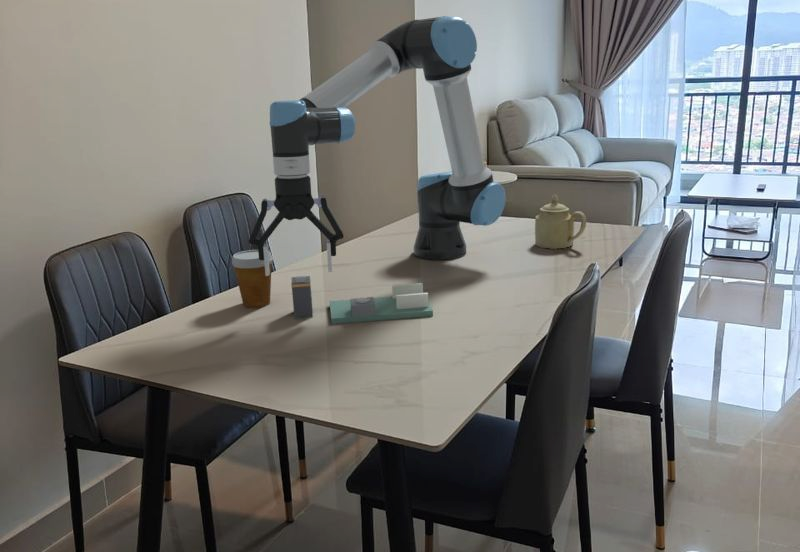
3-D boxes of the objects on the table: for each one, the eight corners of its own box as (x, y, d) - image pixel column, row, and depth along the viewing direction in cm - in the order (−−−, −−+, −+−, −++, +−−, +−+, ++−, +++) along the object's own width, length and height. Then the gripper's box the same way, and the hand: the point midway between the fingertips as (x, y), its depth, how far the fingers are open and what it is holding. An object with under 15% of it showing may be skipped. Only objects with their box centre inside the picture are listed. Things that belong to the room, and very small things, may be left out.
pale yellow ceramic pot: (588, 241, 212) (590, 191, 208) (584, 251, 202) (586, 198, 198) (538, 239, 217) (539, 190, 213) (531, 248, 207) (532, 197, 203)
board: (329, 306, 164) (328, 288, 163) (424, 298, 167) (423, 281, 165) (331, 323, 153) (330, 305, 152) (433, 315, 155) (432, 297, 154)
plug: (294, 311, 162) (291, 272, 159) (312, 309, 162) (309, 270, 160) (294, 318, 157) (290, 278, 154) (312, 317, 158) (309, 277, 155)
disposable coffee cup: (284, 298, 171) (280, 250, 167) (264, 311, 162) (259, 260, 159) (249, 296, 174) (244, 248, 170) (228, 308, 165) (222, 258, 162)
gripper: (230, 180, 146) (239, 280, 152) (352, 175, 149) (356, 273, 155) (234, 175, 153) (242, 271, 159) (350, 170, 156) (354, 264, 162)
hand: (299, 272), depth 157 cm, fingers open, 13 cm apart
